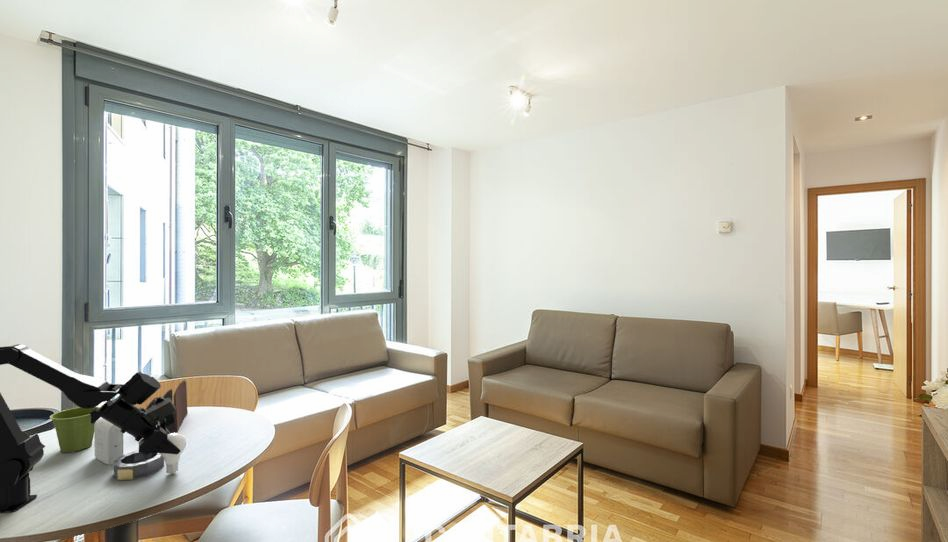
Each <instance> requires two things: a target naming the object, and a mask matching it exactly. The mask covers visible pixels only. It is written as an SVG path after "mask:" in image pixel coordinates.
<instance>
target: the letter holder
mask: <svg viewBox="0 0 948 542" xmlns="http://www.w3.org/2000/svg"><path fill="white" fill-rule="evenodd" d="M187 393H188V392H187V381H186V380H185V379H184V380H182V381H181V382H180V383H179V384H178V385H177V387H176V389H175V391H174V394H173V388H172V389H171V388H170V389H169V390H166V392H165V393H164V395H163V396H162V397H163V398H165V399H166V398H170V399H171V401H172V402H173V404H174V406H175V408H176V411H175V412H174V413H172V414H169V415H167V416H165V417H164V418H163V419H165V421H166V428H167V430H168V431H169V432H170V433H174V432H176V433H179V432H178V431H179V429H180V427H182V424H183V422H184V421H183V420H185V419H186V417H187V416H188V394H187ZM156 398H158V397H157V396H156V397H154V398H153V399H152V400H151V401H150V402H149V403H148V404H147V406H146V407H145V409H146V410H147V409H149V408H151V407H152V405H153V406H154V405H155V399H156ZM184 418H185V419H184ZM163 419H160V420H157V421H158V422H161V421H162V420H163Z"/></svg>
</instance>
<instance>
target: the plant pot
mask: <svg viewBox="0 0 948 542" xmlns="http://www.w3.org/2000/svg"><path fill="white" fill-rule="evenodd" d="M100 407H101V406H96V407H94V408H88V409H84V408H80V407H79V406H77V407H75V408H74V407H72V408H68V409H65V410H61V411H58V412H54V413H53V414H51V415H50V416H49V419H50V420H52V423H53V426H54V427H55V428H54V429H55V431H56V437H57V441H58V446H59V449H60V452H63V453H66V452H69V453H75V452H79V451H82V450H84V449H88V448H90V447H91V446H92V445H93V442H94V441H93V439H94V425H95V423H93V424H92V423H91V415H90V412H91V411H92V409H98V408H100Z"/></svg>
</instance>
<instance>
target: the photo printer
mask: <svg viewBox="0 0 948 542" xmlns="http://www.w3.org/2000/svg"><path fill="white" fill-rule="evenodd" d="M120 430H121V429H120V428H118V427H117V426H115V425H113V424H112V423H110V422H108V421H106V420H105V419H103V418H101V417H100V418H99V419H98V420H97V421H96V422H95V425H94V436H93V439H94V441H93V443H94V457H95V459H96V460H98V461H100V462H101V463H103V464H105V465H110V466H111V465H113V466H114V461H115V460H116V459H118V458H119V457H120V456H123V455H124V433H122V432H120Z"/></svg>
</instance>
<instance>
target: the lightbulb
mask: <svg viewBox="0 0 948 542" xmlns="http://www.w3.org/2000/svg"><path fill="white" fill-rule="evenodd" d="M168 439H169V440H170V441H171V442H172V443H173V444H175V445H176V446H177V447H178V448H179V449H180V452H179V454H166V453H160V455H161V456H162V457H163V458H164V464H165V465H166V468H165V469H166V472H165V473H166V474H168V475H169V474H170V475H173V474H176V472H178V471H179V461H180V458H181V454H182V453H183V452H184V450H185V448H186V445H187V439H186V437H185V436H184V435H183V434H182V433H179V432H176V433H170V434H168Z"/></svg>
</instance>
